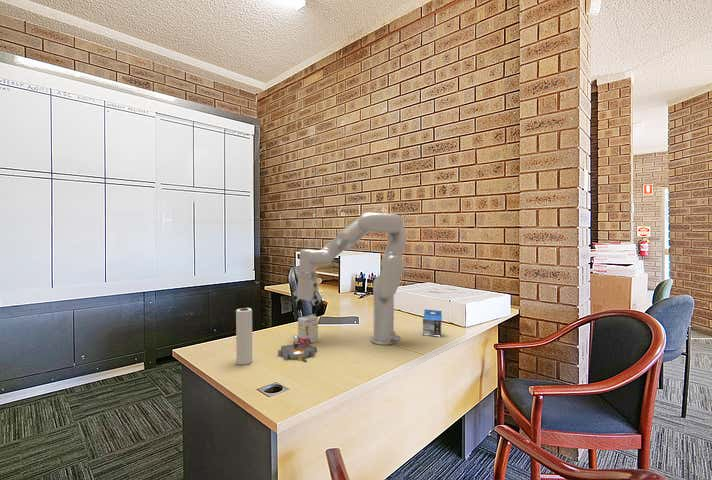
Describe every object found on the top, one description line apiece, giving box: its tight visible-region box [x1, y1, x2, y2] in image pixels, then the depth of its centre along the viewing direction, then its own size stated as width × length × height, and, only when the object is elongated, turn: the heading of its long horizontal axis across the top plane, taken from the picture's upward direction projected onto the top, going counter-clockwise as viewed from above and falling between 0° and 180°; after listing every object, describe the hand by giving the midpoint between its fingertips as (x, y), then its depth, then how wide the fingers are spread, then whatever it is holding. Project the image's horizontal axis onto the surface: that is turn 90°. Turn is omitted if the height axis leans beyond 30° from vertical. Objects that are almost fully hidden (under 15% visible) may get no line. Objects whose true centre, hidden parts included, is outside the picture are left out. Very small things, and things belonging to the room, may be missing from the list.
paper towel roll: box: [235, 307, 253, 366], centre depth 142 cm, size 7×6×21 cm
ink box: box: [297, 314, 319, 345], centre depth 168 cm, size 9×5×12 cm, turn 136°
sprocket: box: [277, 335, 318, 362], centre depth 152 cm, size 16×16×6 cm
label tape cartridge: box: [422, 309, 443, 336], centre depth 179 cm, size 9×4×12 cm, turn 68°
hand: (306, 311), depth 167 cm, fingers open, 9 cm apart
